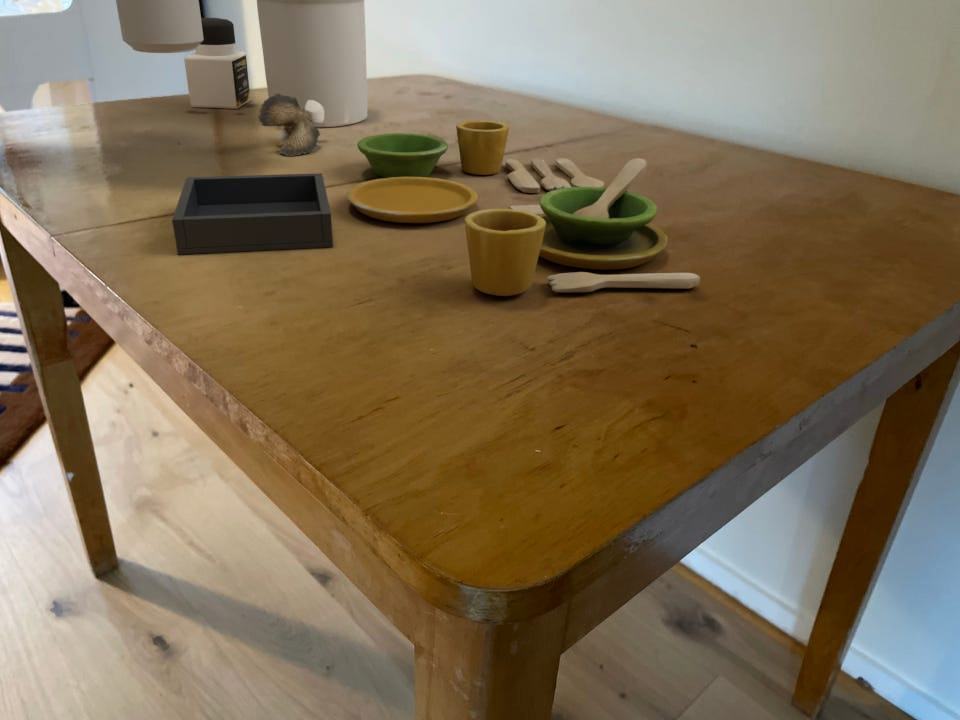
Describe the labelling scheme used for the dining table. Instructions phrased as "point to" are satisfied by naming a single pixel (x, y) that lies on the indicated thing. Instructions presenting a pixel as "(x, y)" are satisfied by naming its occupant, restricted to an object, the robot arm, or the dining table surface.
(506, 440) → the dining table surface
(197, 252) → the dark grey tray
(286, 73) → the utensil holder
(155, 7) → the can
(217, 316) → the dining table surface
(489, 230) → the tableware set
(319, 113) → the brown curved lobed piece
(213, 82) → the medicine bottle
